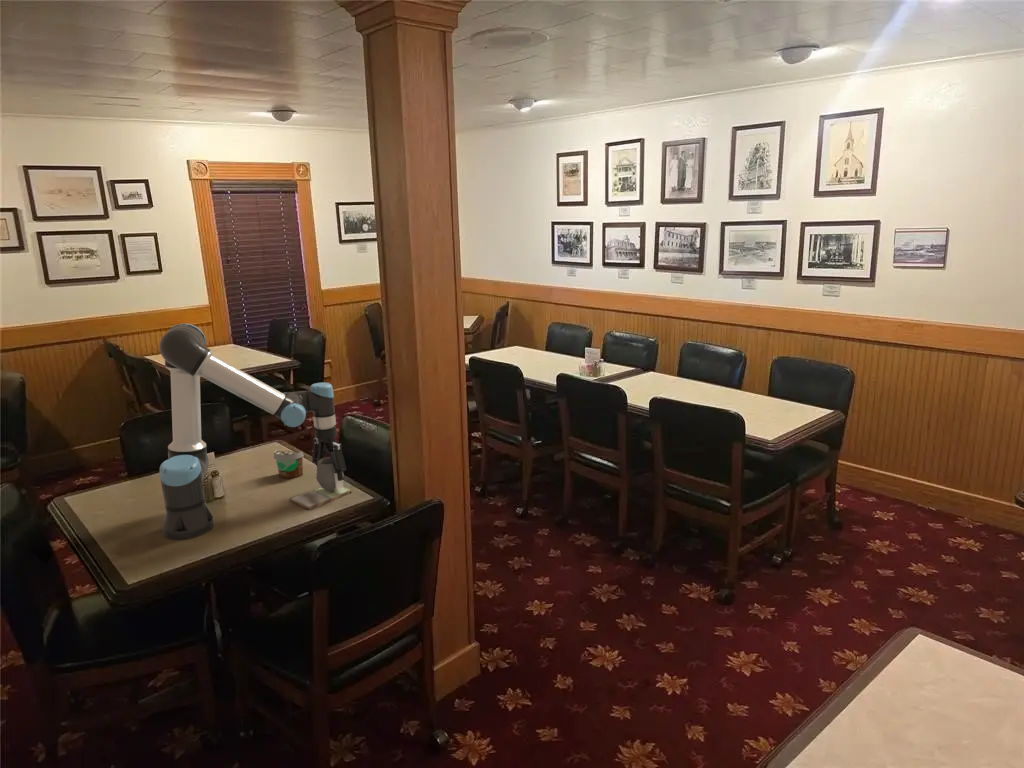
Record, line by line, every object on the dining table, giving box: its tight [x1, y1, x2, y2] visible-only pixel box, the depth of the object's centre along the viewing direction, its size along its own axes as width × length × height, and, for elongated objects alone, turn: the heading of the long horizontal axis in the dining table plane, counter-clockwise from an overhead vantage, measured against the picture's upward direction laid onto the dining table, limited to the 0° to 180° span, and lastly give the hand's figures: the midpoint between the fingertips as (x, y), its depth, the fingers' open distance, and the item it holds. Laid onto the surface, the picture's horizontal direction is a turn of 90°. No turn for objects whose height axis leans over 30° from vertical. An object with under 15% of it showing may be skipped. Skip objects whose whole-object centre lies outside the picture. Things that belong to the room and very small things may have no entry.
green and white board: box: [289, 486, 353, 510], centre depth 238 cm, size 18×12×1 cm, turn 142°
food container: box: [273, 448, 305, 480], centre depth 256 cm, size 12×6×10 cm, turn 73°
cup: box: [316, 456, 344, 489], centre depth 240 cm, size 10×9×10 cm
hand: (330, 485), depth 241 cm, fingers closed on cup, 9 cm apart
